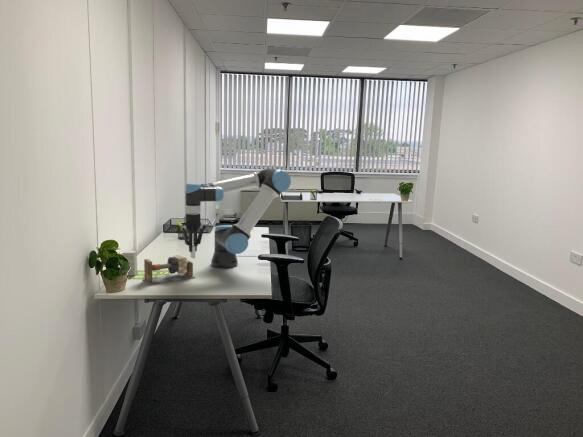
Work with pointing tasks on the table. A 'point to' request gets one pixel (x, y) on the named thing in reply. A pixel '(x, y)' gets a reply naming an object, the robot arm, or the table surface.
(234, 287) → the table surface
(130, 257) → the skincare box
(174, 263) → the o-ring
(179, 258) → the sleeve
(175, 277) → the pipe stand
